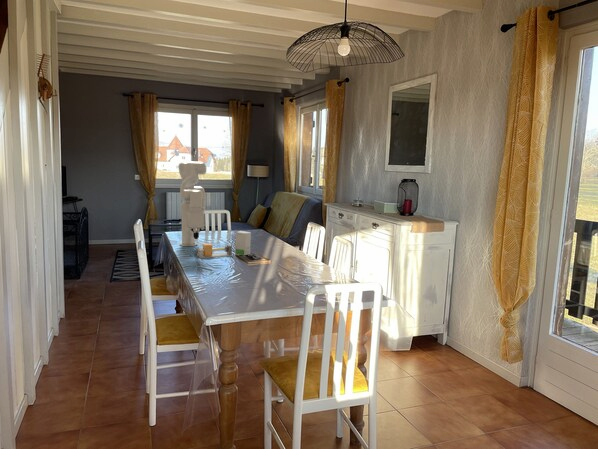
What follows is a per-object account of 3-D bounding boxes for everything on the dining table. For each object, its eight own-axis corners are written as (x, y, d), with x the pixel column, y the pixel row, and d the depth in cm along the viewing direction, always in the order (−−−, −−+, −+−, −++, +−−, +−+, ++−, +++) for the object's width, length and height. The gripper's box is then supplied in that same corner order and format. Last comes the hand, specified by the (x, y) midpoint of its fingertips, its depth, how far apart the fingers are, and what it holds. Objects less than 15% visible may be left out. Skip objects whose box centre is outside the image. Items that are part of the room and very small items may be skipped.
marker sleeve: (202, 254, 292) (202, 243, 291) (210, 253, 294) (210, 243, 293) (204, 255, 287) (204, 245, 286) (212, 255, 289) (212, 244, 288)
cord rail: (197, 255, 292) (197, 245, 292) (228, 253, 302) (229, 243, 301) (200, 258, 283) (200, 248, 283) (233, 256, 293) (233, 246, 292)
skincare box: (234, 255, 296) (235, 231, 294) (240, 253, 302) (240, 230, 300) (245, 256, 293) (245, 233, 290) (250, 254, 298) (251, 231, 296)
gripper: (206, 209, 289) (206, 237, 292) (182, 209, 283) (183, 238, 285) (209, 210, 283) (209, 239, 285) (185, 210, 276) (185, 240, 279)
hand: (196, 238), depth 285 cm, fingers closed
